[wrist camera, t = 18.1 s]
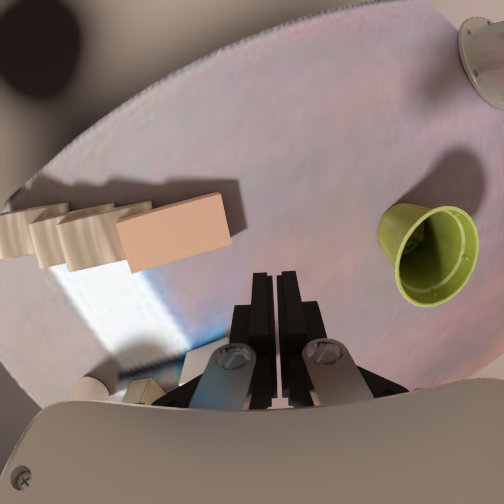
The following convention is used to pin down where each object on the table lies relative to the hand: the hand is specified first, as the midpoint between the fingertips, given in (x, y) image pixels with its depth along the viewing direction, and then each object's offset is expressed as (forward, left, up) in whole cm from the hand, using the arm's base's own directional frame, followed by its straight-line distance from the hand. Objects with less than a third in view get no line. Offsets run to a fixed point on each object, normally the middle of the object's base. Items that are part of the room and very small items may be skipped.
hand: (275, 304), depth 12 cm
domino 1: (+18, -11, -18) cm, 28 cm away
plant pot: (-11, +11, -19) cm, 24 cm away
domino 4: (+4, -1, -18) cm, 18 cm away
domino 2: (+14, -7, -18) cm, 23 cm away
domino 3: (+10, -4, -17) cm, 20 cm away
